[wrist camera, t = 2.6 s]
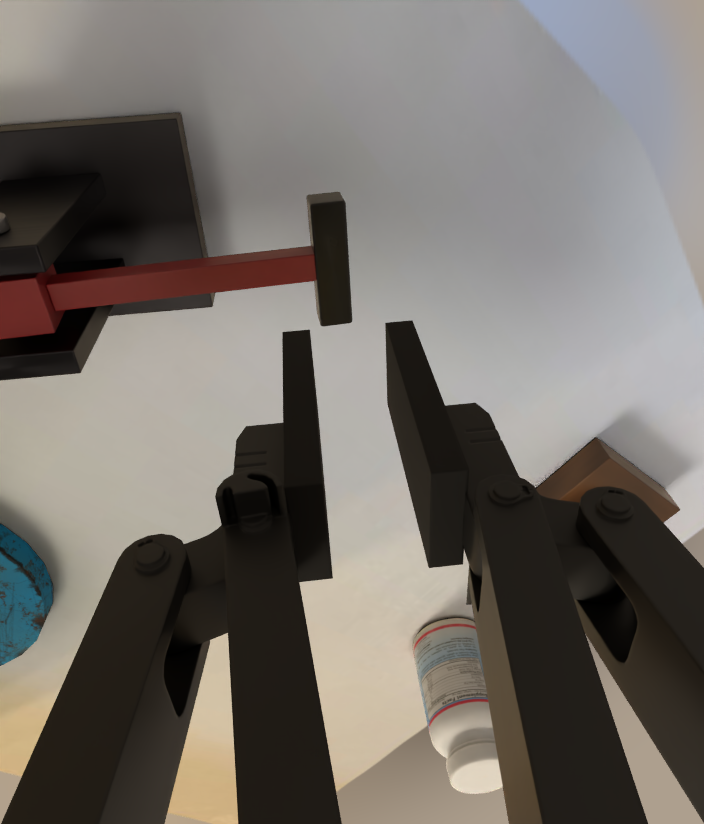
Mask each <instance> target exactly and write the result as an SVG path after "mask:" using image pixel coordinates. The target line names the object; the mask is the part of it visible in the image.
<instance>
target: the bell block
mask: <svg viewBox="0 0 704 824" xmlns="http://www.w3.org/2000/svg"><path fill="white" fill-rule="evenodd" d="M606 486H610V487H616V488H621V489H624V490H626V491H629V492H631V493H633V494H635V495H636V496H638V497H639V498H640V499H641V500H643V501H644V502H645V503H646V504H647V505H648V506H649V508H650V509H651V510H652V511H653V512H654V513H655V514H656V515H657V516H658V518H659V519H660V520H661V521H662V522H663V523H664V522H665V521H666V520H668V519H669V518H670V517H672V516H673V515H674V514H676V513H677V512H678V511H680V508H679V507H678V506H677V504H676V503H675V502H674V500H673V499H672V498H671V496H670V495H669V494H668V492H667V491H666V490H665V489H664V488H663V487H662V486H660V485H659V484H658V483H656V482H655V481H654V480H652V479H651V478H650V477H648V476H647V475H646V474H644V473H643V472H642V471H640V470H639V469H638V468H636V467H635V466H634V465H632V464H631V463H630V462H628V461H627V460H626V459H624V458H623V457H622V456H620V455H619V454H618V453H616V452H615V451H614V450H612V449H611V448H610V447H608V446H607V445H606V444H604V443H603V442H602V441H600V440H599V439H598V438H595V439H594V440H593V441H592V442H590V443H589V444H588V445H587V446H586V447H585V448H583V449H582V450H581V451H580V452H579V453H577V454H576V455H575V456H574V457H573V458H572V459H570V460H569V461H568V462H567V463H566V464H565V465H563V466H562V467H561V468H560V469H559V470H557V471H556V472H555V473H554V474H553V475H552V476H550V477H549V478H548V479H547V480H546V481H545V482H543V483H542V484H541V485H540V486H539V487H537V488H536V490H537V492H538V493H539V495H542V496H545V497H547V498H552V499H557V500H564V501H571V502H579V503H580V500H581V497H582V496H583V495H584V494H585V492H586V491H588V490H590V489H593V488H596V487H606Z"/></svg>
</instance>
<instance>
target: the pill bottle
mask: <svg viewBox="0 0 704 824" xmlns="http://www.w3.org/2000/svg"><path fill="white" fill-rule="evenodd" d="M413 653H414V658H415V664H416V669H417V674H418V679H419V684H420V689H421V694H422V698H423V704H424V708H425V713H426V718H427V723H428V728H429V733H430V737H431V741H432V743H433V745H434V747H435V749H436V750H437V751H438V752H439V753H440V754H441V755H442V756H444V757H446V758H447V759H446V762H447V764H446V769H447V771H448V775H449V779H450V783H451V785H452V787H453V788H454V789H456V790H458V791H460V792H463V793H469V794H480V793H486V792H491V791H494V790H497V789H499V788H501V787H503V785H502V779H501V773H500V767H499V761H498V756H497V750H496V744H495V738H494V732H493V726H492V720H491V714H490V708H489V702H488V696H487V690H486V684H485V679H484V673H483V667H482V661H481V655H480V649H479V643H478V637H477V631H476V625H475V622H473V621H471V620H468V619H463V618H451V619H445V620H441V621H437V622H434V623H432V624H430V625H428V626H426V627H425V628H423V629H422V630H421V631H420V632H419V633H418V635H417V636H416V638H415V640H414V643H413Z"/></svg>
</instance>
